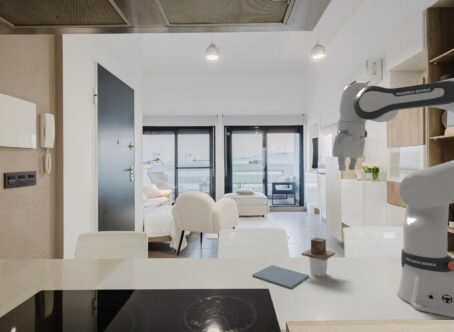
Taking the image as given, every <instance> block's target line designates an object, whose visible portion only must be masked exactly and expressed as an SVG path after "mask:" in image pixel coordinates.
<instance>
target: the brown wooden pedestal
mask: <svg viewBox="0 0 454 332" xmlns="http://www.w3.org/2000/svg"><path fill="white" fill-rule="evenodd" d="M326 241H327V239H325V238H320V237H314V238H311V239H310V248H309V249H307V250H304V251H303V252H301V256H304V257H308V258H309V257H312V258H316V259H320V260H324V261H325V260H327V259H330V258H331V257H334V255H336V252H335V251H330V250H327V249H326V247H327V242H326Z"/></svg>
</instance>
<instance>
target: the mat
mask: <svg viewBox="0 0 454 332" xmlns="http://www.w3.org/2000/svg"><path fill="white" fill-rule="evenodd" d="M252 277H254V278H256V279H260V280H263V281H267V282H269V283H272V284H275V285H278V286H281V287H284V288H287V289H293V288H295V287H296V286H297V285H299V284H300V283H302V282H303V281H305V280H306V279H308V278H310V275H309V274H307V273H303V272H298V271H295V270H291V269H287V268H284V267H280V266H277V265H273V264H271V265H269V266H267V267H265V268H263V269H261V270H259V271H257V272H255V273H253V274H252Z"/></svg>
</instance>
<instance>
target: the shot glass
mask: <svg viewBox="0 0 454 332" xmlns="http://www.w3.org/2000/svg"><path fill="white" fill-rule="evenodd" d="M308 259H309V261H308V262H309V271H310V274H311V275H313V276H316V277H324V276H327V270H328V269H327V268H328V259H329V258H328V259H327V260H325V261H324V260H320V259H316V258H312V257H308Z"/></svg>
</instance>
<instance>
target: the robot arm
mask: <svg viewBox="0 0 454 332" xmlns="http://www.w3.org/2000/svg"><path fill="white" fill-rule="evenodd" d="M419 108H435V109H440V110H441V109H442V110H445V111H448V112H451V113H454V77H452V78H448V79H443V80H440V81H436V82H430V83H424V84H423V83H421V84H417V85H416V84H415V85H409V86H403V87H394V88H393V87H392V88H388V87H383V86H378V85H368V84H367V83H365V82H355V83H352V84H348V85H347V86H346V87H344V89H343V90H342V93H341V97H340V102H339V108H338V109H339V119H338V123H337V132H336V136H335V137H334V140H333V146H332V147H333V148H332V155H333V157H335V158H337V163H338V171H341V172H344V171H346V167H347V165H346V159H347V158H349V161H350V162H349V164H348V170H349V171H354V170H355V169H356V164H357V162H358V158H362V157H363V155H364V153H365V152H364V150H365V145H366V139H367V138H368V131H367V130H366V121H372V122H377V123H384V122H389V121H391V120H392V119H394V118H395V117H396V116H397V114H398V113H399V111H402V110H410V109H411V110H412V109H419ZM398 190H399V191H398V192H399V197H400V198H401V200H402V201H403V203H405V204H406V205H405V206H406V207H405V213H404V221H403V225H402V226H403V230H402V231H403V232H402V234H403V236H402V237H403V240H402V241H403V246H402V247H403V248H402V249H401V252H400V253H401V257H400V261H401V262H400V263H401V268H402V271H401V278H400V283H399V286H398V289H397V291H396V292H397V295H398V297H399V298H401V299H402V301H403V300H404V301H405V302H407V303H409V304H410V305H411V306H412V307H413V308H414V309H416V310H418V311H422V312H426V313H430V314H435V315H439V316H445V317H450V318H454V257H452V256H450V255H449V254H448V228H449V226H448V225H449V212H450V204H454V159H453V160H450V161H447V162H443V163H440V164H437V165H433V166H430V167H426V168H423V169H420V170H418V171H414V172H411V173H410V174H407V175H406V176H404V177H403V179H402V180H401V182H400V184H399V189H398Z"/></svg>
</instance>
